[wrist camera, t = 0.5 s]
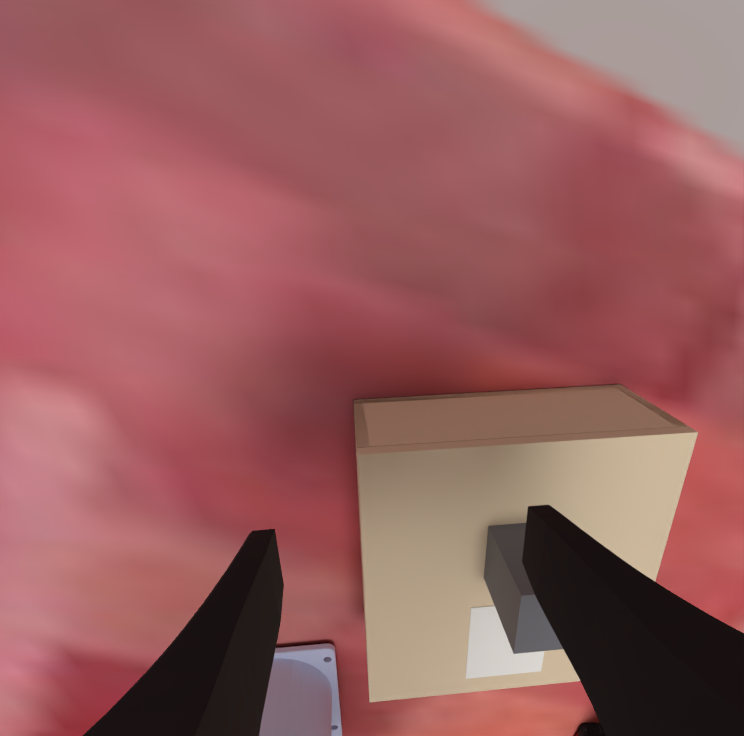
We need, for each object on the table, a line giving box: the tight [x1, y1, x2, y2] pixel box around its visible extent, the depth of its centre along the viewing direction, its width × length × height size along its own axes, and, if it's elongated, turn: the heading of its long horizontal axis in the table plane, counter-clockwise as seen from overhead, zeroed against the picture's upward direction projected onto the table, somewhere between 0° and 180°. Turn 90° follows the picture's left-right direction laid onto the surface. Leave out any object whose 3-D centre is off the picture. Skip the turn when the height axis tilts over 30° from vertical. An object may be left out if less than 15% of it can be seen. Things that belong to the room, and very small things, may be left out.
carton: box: [353, 384, 687, 684], centre depth 22 cm, size 15×14×4 cm
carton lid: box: [357, 426, 698, 702], centre depth 18 cm, size 15×14×4 cm
